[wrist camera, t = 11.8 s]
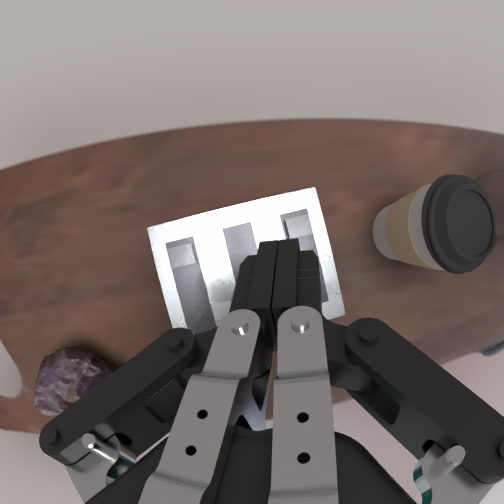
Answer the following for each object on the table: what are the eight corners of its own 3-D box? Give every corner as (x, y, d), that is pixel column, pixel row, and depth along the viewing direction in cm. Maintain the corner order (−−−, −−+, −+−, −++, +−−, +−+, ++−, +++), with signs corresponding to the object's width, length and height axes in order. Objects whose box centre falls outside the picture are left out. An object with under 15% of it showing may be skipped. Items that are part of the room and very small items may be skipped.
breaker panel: (308, 192, 36) (317, 185, 32) (336, 309, 36) (348, 316, 32) (153, 229, 35) (144, 227, 31) (185, 349, 35) (180, 360, 31)
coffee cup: (349, 231, 37) (419, 218, 22) (393, 181, 37) (468, 148, 22) (396, 283, 37) (476, 297, 22) (435, 232, 37) (516, 224, 22)
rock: (139, 400, 36) (114, 327, 36) (132, 433, 28) (99, 345, 27) (61, 411, 33) (35, 342, 33) (41, 442, 25) (7, 361, 25)
